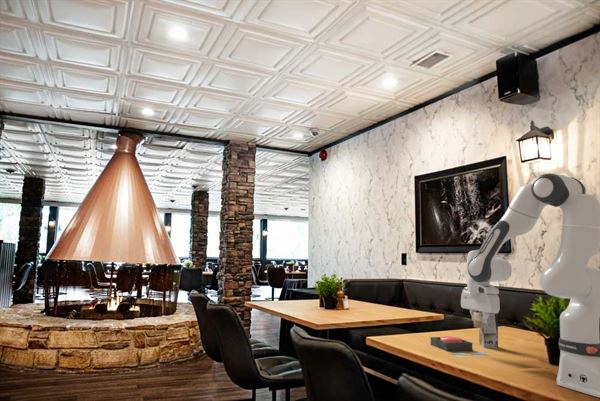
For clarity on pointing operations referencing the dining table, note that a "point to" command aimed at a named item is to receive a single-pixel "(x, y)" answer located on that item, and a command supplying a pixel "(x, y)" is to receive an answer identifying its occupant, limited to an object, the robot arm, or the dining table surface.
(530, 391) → the dining table surface
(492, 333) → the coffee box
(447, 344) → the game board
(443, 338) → the dome
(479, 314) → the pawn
